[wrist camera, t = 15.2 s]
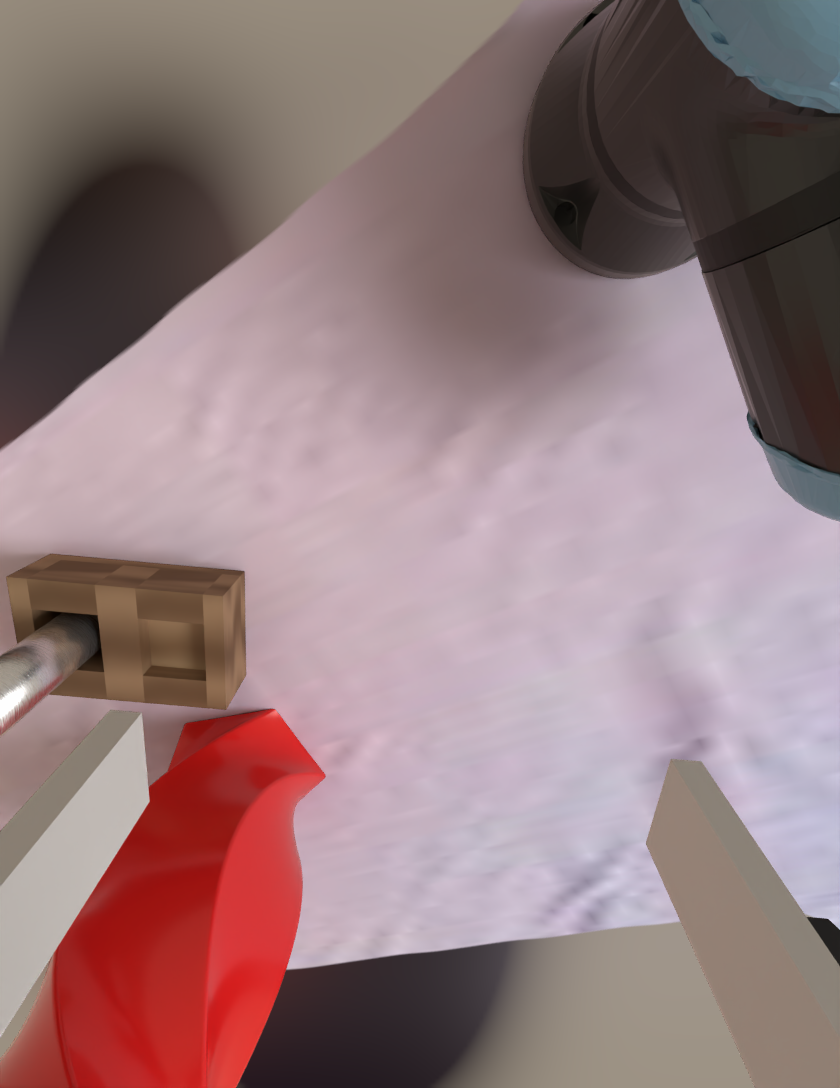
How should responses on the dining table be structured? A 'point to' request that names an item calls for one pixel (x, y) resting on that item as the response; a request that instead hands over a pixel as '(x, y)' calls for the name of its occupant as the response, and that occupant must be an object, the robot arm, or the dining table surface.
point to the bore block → (142, 627)
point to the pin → (44, 663)
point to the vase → (180, 924)
